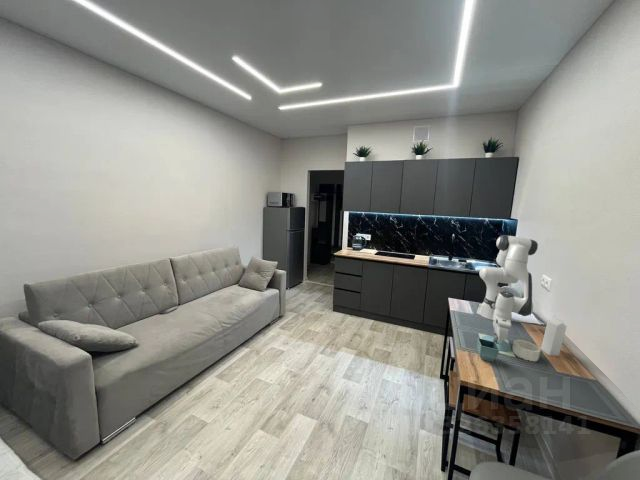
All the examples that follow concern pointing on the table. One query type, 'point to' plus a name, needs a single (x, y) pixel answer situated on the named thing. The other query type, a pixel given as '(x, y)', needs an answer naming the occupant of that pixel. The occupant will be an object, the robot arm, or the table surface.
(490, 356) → the flower pot
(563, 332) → the milk
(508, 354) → the mat
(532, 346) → the bowl
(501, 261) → the robot arm
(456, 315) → the table surface
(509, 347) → the lid
